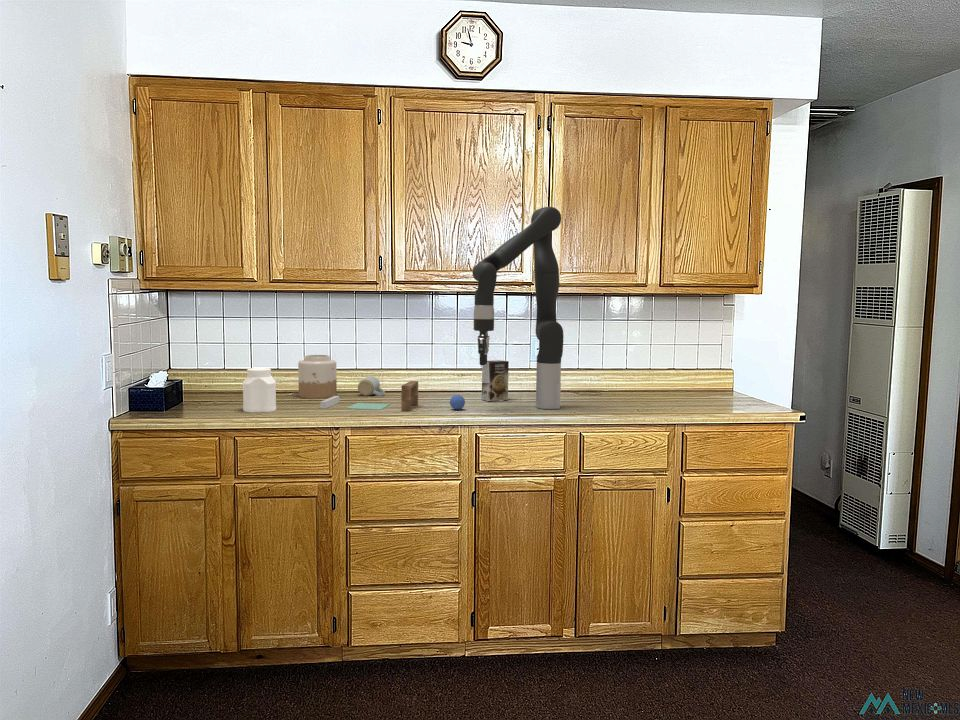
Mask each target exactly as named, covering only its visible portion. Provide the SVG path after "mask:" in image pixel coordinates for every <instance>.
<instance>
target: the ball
mask: <svg viewBox="0 0 960 720" xmlns="http://www.w3.org/2000/svg"><path fill="white" fill-rule="evenodd" d="M449 405H450V407H451V408H452V409H453V410H458V411H460V410H461V409H463V408H464V407H465V405H466V399H465V398H464V396H462V395H461V394H454V395H453V396H451V398H450V400H449Z"/></svg>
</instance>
